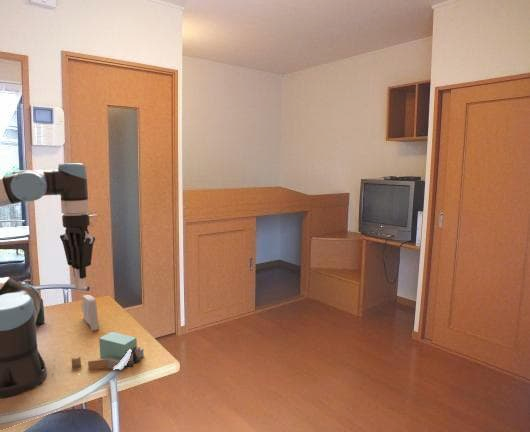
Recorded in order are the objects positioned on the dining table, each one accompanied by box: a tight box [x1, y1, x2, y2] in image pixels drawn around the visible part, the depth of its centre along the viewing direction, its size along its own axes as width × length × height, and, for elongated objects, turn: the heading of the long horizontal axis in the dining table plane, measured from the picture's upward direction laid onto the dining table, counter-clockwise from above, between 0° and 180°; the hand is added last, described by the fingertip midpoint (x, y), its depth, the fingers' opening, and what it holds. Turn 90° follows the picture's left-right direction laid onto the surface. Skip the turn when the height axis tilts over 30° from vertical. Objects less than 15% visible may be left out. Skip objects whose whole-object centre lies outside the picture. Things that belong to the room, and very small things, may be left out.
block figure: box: [71, 347, 145, 370], centre depth 120 cm, size 18×15×2 cm
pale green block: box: [98, 331, 138, 362], centre depth 119 cm, size 5×10×7 cm, turn 65°
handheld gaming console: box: [81, 294, 99, 332], centre depth 146 cm, size 11×3×15 cm
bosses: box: [126, 346, 142, 369], centre depth 117 cm, size 5×2×4 cm, turn 155°
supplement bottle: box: [36, 290, 46, 327], centre depth 145 cm, size 7×7×12 cm
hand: (80, 287), depth 124 cm, fingers closed
